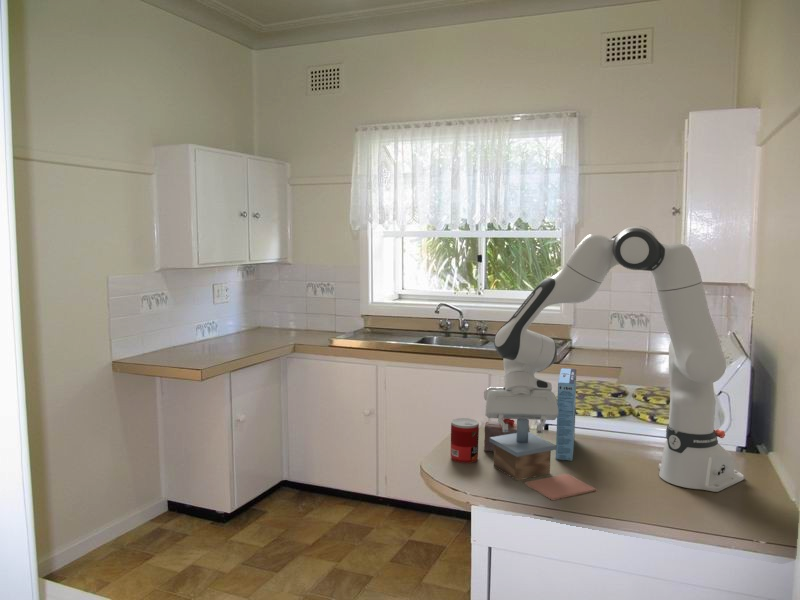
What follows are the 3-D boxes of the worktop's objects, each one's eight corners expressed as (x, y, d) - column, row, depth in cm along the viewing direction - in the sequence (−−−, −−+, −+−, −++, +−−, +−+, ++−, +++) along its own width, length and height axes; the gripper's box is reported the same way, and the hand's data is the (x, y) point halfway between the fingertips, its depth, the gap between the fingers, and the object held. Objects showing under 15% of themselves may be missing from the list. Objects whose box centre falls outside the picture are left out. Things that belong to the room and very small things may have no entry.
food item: (530, 448, 198) (531, 417, 197) (528, 457, 191) (529, 425, 189) (485, 444, 202) (486, 413, 200) (482, 453, 194) (482, 421, 193)
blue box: (572, 461, 188) (575, 383, 185) (554, 459, 189) (557, 382, 186) (574, 439, 206) (577, 368, 204) (558, 438, 208) (561, 367, 205)
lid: (527, 438, 189) (527, 411, 188) (555, 453, 177) (557, 424, 176) (489, 444, 184) (489, 416, 182) (516, 460, 172) (517, 430, 171)
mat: (567, 475, 178) (567, 473, 177) (595, 490, 168) (595, 488, 168) (525, 484, 172) (525, 482, 171) (551, 500, 162) (551, 498, 162)
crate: (525, 460, 189) (526, 436, 188) (549, 473, 179) (550, 449, 178) (493, 466, 184) (494, 442, 183) (516, 480, 174) (517, 455, 173)
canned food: (476, 464, 185) (477, 427, 184) (448, 462, 187) (449, 425, 185) (479, 455, 192) (479, 418, 191) (452, 452, 194) (452, 417, 193)
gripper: (484, 381, 186) (485, 425, 178) (556, 383, 185) (561, 427, 176) (483, 392, 191) (484, 435, 183) (553, 394, 190) (558, 438, 181)
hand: (522, 431), depth 180 cm, fingers open, 8 cm apart
